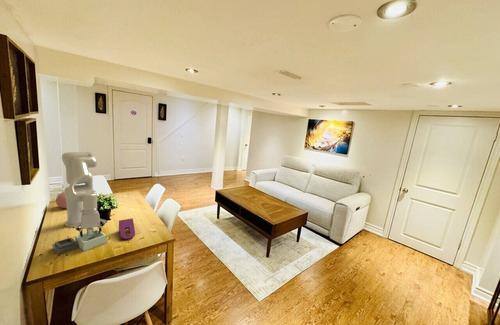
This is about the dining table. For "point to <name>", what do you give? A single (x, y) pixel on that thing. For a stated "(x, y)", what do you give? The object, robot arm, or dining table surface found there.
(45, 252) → the dining table surface
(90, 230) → the grey rounded piece
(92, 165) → the robot arm
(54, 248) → the socket block
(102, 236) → the bin
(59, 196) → the balloon
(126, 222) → the mounting bracket
